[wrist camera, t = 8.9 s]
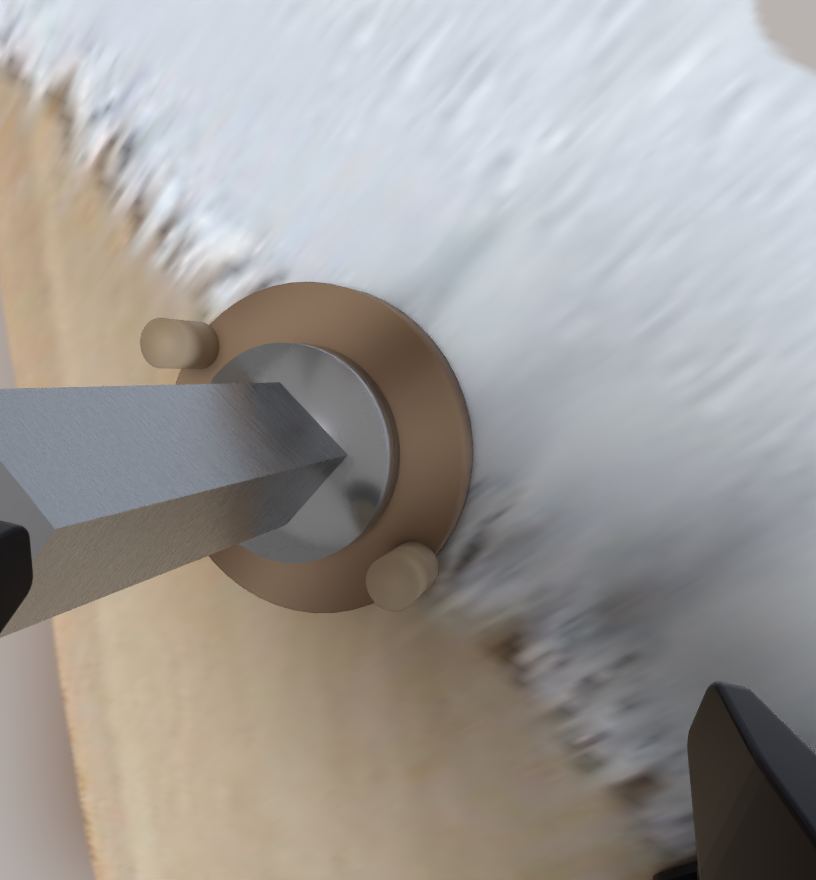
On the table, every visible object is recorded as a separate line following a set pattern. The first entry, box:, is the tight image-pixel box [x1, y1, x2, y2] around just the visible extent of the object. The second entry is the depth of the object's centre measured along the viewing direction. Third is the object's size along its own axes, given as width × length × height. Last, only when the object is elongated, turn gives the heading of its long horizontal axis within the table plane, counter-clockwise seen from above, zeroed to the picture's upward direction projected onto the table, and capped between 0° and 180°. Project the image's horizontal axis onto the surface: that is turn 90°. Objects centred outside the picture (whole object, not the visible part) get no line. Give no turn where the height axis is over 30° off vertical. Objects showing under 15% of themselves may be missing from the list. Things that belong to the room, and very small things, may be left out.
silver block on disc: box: [0, 342, 400, 638], centre depth 18 cm, size 7×7×12 cm
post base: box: [140, 282, 473, 613], centre depth 23 cm, size 12×11×3 cm
